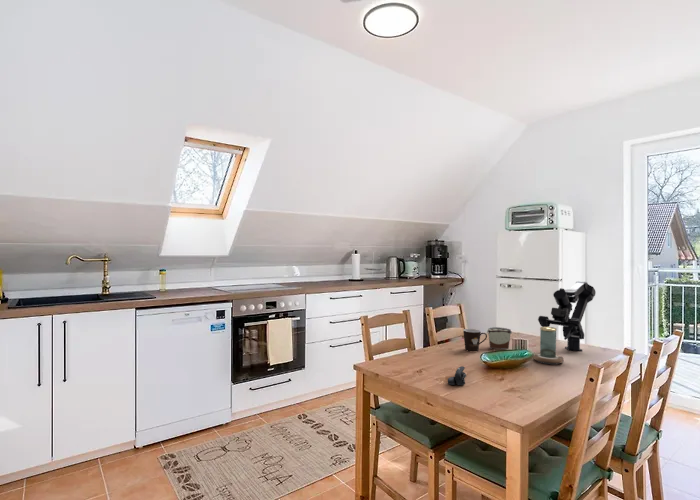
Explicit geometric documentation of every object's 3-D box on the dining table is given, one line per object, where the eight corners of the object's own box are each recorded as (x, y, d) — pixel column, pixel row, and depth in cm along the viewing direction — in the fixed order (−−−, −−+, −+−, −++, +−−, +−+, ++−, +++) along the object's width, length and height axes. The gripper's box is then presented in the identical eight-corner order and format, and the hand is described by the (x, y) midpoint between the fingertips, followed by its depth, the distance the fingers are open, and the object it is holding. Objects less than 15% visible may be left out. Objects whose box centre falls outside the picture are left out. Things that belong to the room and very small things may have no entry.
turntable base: (533, 358, 200) (533, 356, 200) (555, 359, 199) (555, 357, 199) (539, 363, 190) (539, 362, 190) (563, 365, 189) (563, 363, 189)
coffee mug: (462, 351, 211) (463, 331, 211) (463, 347, 219) (463, 328, 219) (487, 353, 208) (487, 333, 208) (486, 349, 216) (487, 329, 216)
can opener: (464, 389, 157) (464, 374, 157) (445, 386, 160) (446, 371, 159) (472, 375, 173) (472, 362, 173) (454, 373, 176) (455, 360, 176)
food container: (508, 346, 223) (508, 327, 223) (511, 349, 217) (511, 329, 217) (484, 345, 224) (484, 326, 224) (487, 348, 218) (487, 329, 218)
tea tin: (539, 353, 199) (540, 326, 199) (555, 355, 196) (556, 327, 196) (539, 357, 193) (540, 328, 193) (556, 358, 190) (556, 330, 190)
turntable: (529, 354, 202) (529, 351, 202) (557, 356, 200) (557, 353, 200) (537, 362, 189) (537, 359, 189) (568, 363, 187) (568, 360, 187)
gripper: (539, 299, 210) (529, 324, 202) (580, 303, 196) (571, 330, 189) (545, 313, 215) (536, 338, 208) (585, 318, 202) (577, 345, 194)
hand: (554, 337), depth 200 cm, fingers open, 9 cm apart
